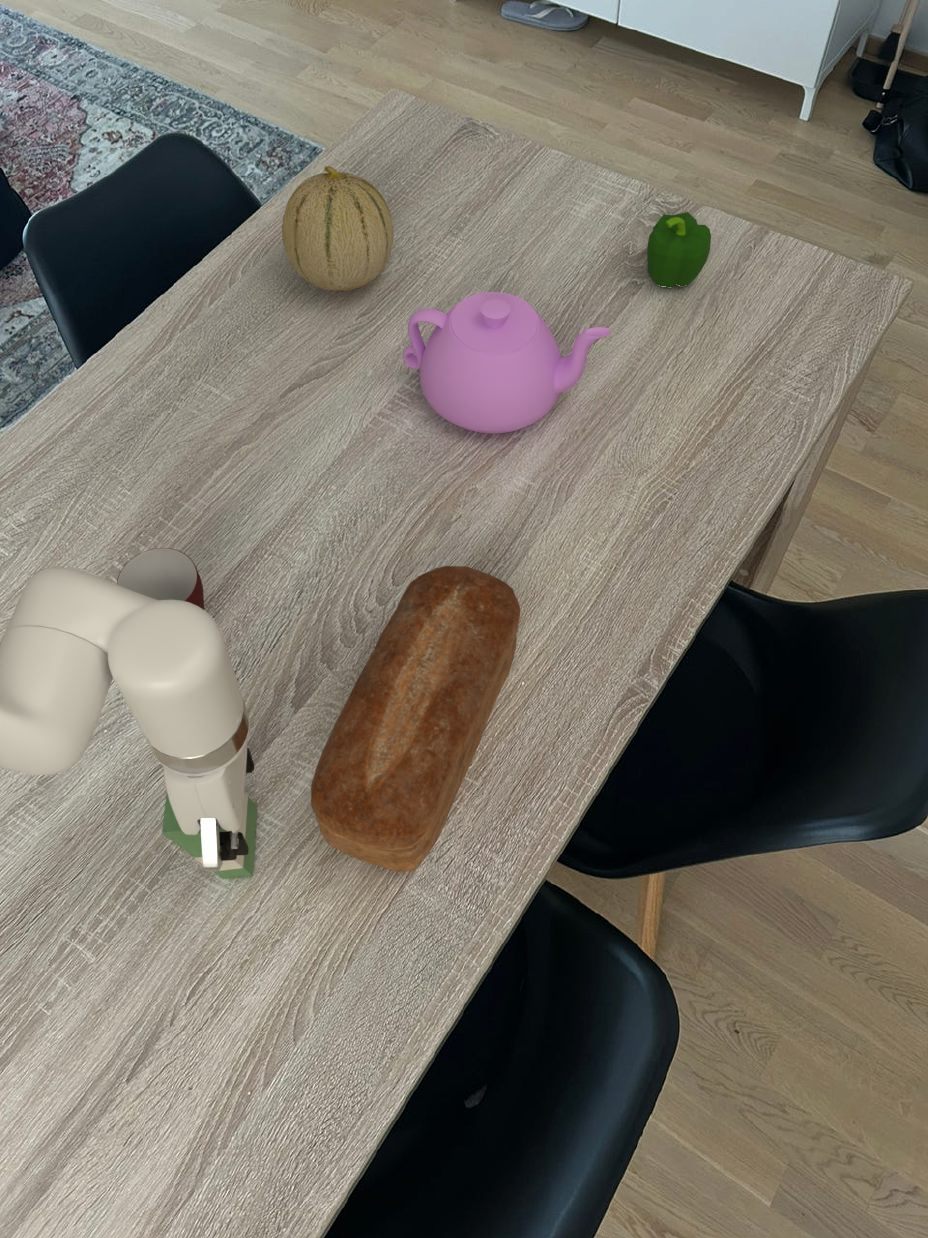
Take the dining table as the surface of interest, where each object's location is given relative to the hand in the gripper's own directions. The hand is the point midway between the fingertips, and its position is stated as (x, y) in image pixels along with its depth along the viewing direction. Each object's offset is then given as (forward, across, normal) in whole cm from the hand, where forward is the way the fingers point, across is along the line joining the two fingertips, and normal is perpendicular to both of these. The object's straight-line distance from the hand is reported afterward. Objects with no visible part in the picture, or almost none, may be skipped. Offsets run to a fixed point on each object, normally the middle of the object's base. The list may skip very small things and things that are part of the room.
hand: (233, 809), depth 92 cm
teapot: (+9, -58, +28) cm, 65 cm away
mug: (+9, -24, -10) cm, 28 cm away
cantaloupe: (+9, -80, +8) cm, 81 cm away
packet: (+2, 0, -4) cm, 4 cm away
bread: (+9, -11, +17) cm, 22 cm away
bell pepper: (+8, -79, +53) cm, 95 cm away
